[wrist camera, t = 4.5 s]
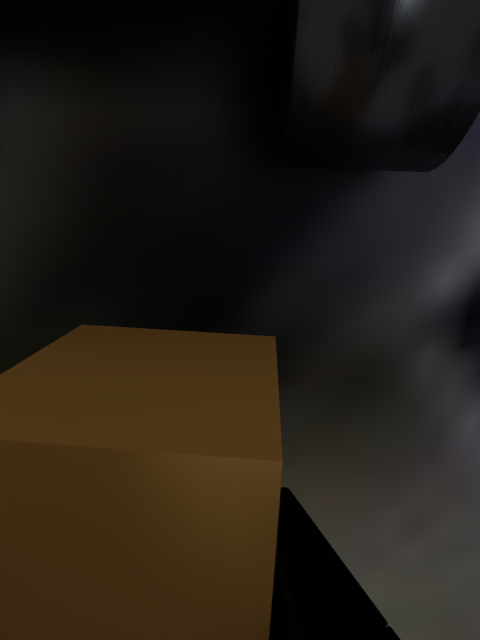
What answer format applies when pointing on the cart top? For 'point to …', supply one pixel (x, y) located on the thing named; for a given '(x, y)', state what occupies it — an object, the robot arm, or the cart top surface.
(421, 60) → the trolley
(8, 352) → the cart top surface
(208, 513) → the block
